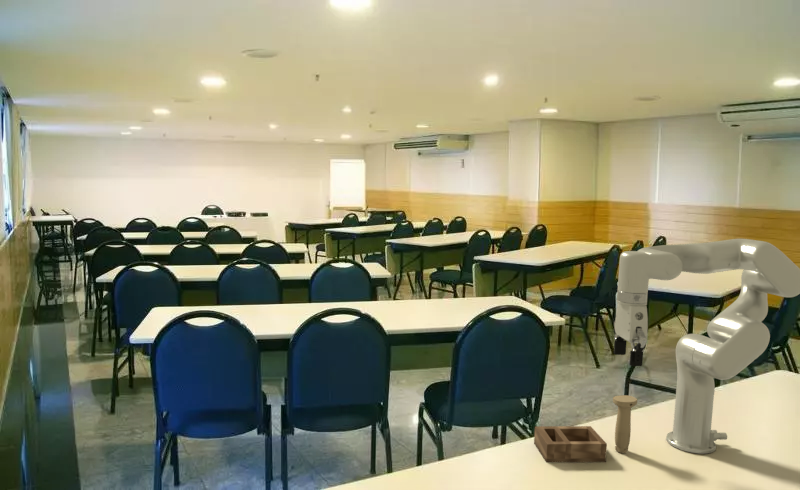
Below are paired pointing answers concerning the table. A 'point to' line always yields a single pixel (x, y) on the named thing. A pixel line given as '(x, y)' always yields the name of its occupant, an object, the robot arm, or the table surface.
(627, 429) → the handle
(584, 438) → the socket block
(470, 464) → the table surface
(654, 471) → the table surface
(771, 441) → the table surface
